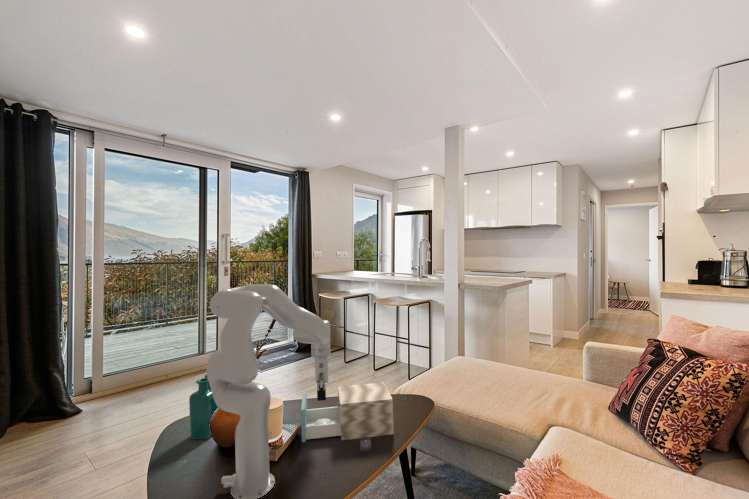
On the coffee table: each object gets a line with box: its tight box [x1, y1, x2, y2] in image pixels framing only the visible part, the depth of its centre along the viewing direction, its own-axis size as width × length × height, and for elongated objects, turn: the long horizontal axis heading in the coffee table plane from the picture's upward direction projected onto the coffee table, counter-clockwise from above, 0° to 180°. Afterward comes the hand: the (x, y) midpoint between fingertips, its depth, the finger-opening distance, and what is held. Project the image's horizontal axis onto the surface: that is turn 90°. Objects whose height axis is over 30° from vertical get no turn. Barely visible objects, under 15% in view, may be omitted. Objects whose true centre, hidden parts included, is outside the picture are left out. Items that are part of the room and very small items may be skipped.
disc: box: [315, 418, 331, 425], centre depth 138 cm, size 6×6×2 cm
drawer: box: [300, 390, 341, 443], centre depth 138 cm, size 20×18×12 cm
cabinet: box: [337, 381, 395, 441], centre depth 141 cm, size 20×18×14 cm
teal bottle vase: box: [188, 373, 219, 440], centre depth 139 cm, size 10×8×22 cm
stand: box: [359, 437, 372, 454], centre depth 123 cm, size 4×4×4 cm
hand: (321, 395), depth 137 cm, fingers open, 9 cm apart
